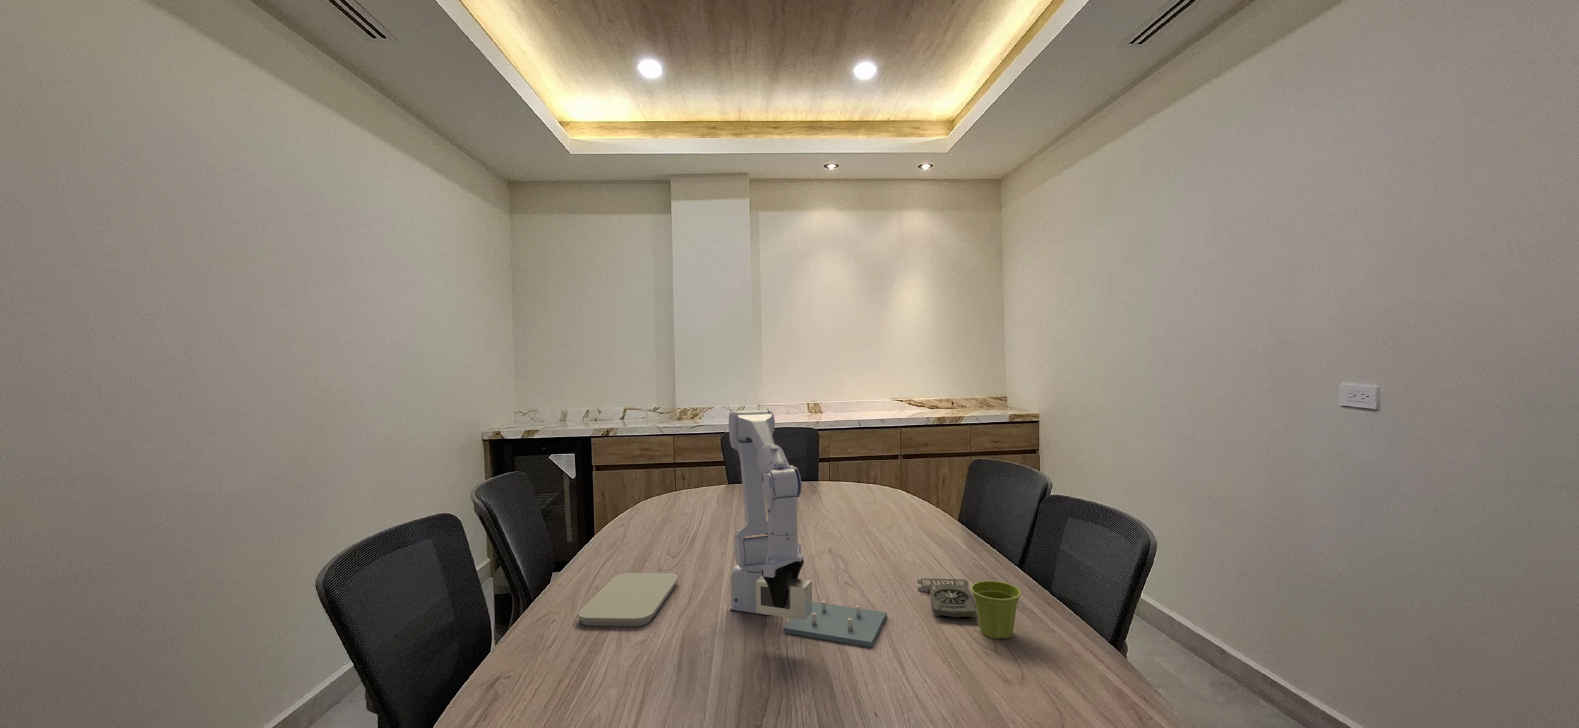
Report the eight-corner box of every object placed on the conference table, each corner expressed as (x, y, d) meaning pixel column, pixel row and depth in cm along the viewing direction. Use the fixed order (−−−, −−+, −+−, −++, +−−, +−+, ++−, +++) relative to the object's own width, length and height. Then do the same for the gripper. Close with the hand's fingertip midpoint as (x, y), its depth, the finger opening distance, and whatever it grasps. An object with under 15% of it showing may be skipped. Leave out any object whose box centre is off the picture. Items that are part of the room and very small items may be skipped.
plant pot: (1010, 649, 108) (1009, 602, 108) (963, 633, 115) (962, 590, 115) (1029, 631, 115) (1028, 588, 115) (983, 618, 122) (982, 577, 122)
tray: (783, 632, 117) (783, 617, 117) (807, 605, 130) (806, 591, 130) (871, 647, 110) (871, 631, 110) (886, 616, 123) (886, 602, 123)
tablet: (572, 628, 121) (572, 617, 121) (618, 581, 147) (618, 572, 147) (648, 629, 120) (648, 618, 120) (681, 582, 146) (681, 573, 146)
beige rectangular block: (756, 612, 111) (755, 581, 111) (764, 604, 115) (764, 574, 115) (804, 620, 108) (804, 588, 108) (812, 611, 111) (811, 580, 111)
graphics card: (917, 576, 138) (969, 577, 136) (917, 591, 138) (969, 593, 136) (920, 606, 121) (979, 608, 119) (920, 624, 121) (980, 626, 119)
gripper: (788, 544, 103) (789, 620, 103) (814, 523, 117) (815, 590, 117) (752, 540, 106) (753, 614, 106) (782, 520, 119) (783, 586, 119)
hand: (783, 601), depth 111 cm, fingers closed on beige rectangular block, 4 cm apart
